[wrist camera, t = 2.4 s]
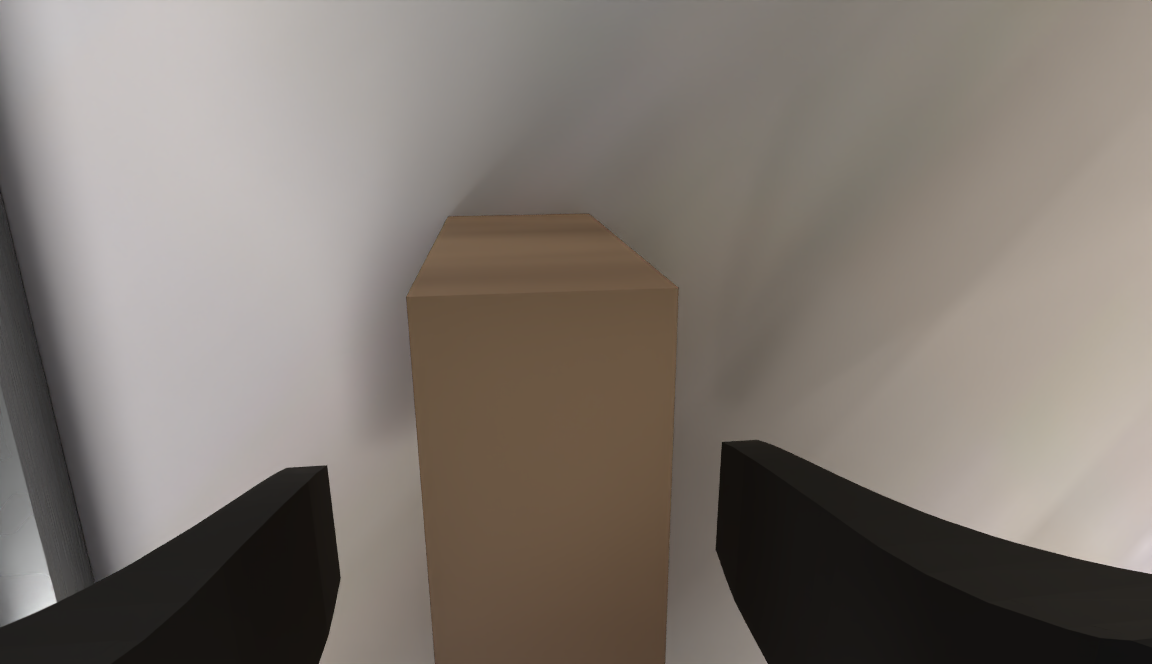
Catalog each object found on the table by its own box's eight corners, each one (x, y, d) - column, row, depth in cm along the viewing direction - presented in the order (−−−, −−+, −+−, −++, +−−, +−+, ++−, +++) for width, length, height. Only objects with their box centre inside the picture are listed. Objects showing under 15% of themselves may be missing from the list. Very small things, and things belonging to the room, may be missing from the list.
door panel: (588, 643, 14) (653, 980, 9) (473, 654, 14) (462, 1009, 8) (588, 212, 12) (678, 287, 6) (448, 216, 12) (406, 297, 6)
